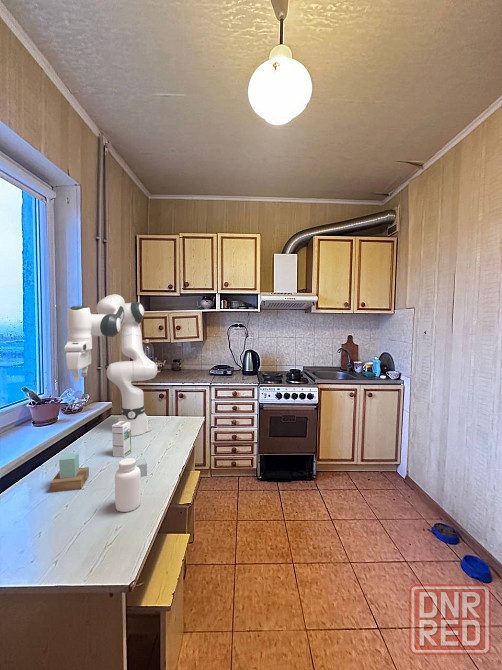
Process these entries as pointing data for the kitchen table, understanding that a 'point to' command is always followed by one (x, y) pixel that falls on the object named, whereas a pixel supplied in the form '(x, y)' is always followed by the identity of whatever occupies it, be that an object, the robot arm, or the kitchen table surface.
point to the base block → (69, 481)
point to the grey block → (142, 467)
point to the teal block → (69, 465)
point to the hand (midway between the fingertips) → (80, 378)
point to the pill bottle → (127, 485)
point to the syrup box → (121, 438)
